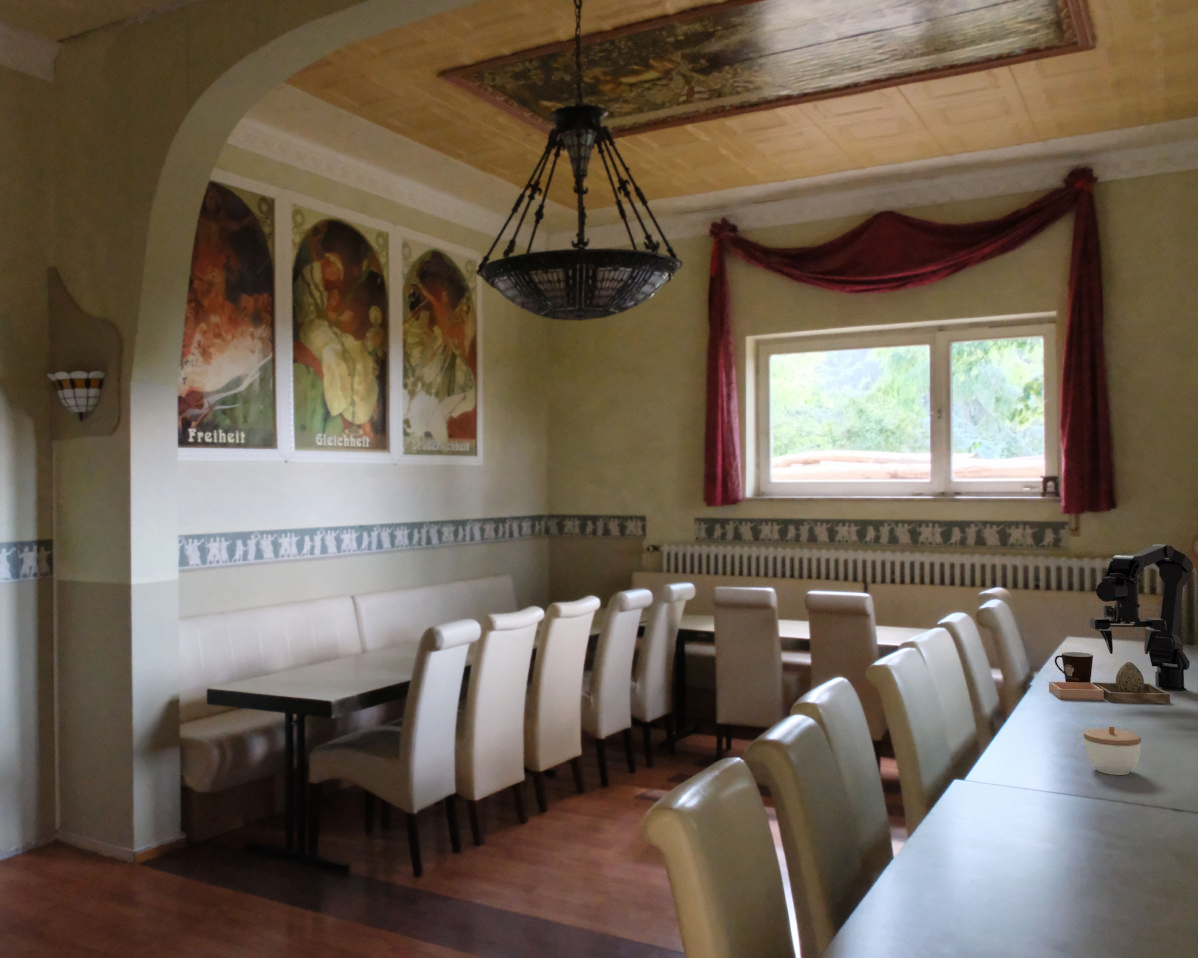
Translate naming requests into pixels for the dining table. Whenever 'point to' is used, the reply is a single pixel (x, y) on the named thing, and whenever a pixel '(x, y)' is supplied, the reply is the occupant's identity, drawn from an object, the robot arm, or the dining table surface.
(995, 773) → the dining table surface
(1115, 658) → the dining table surface
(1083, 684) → the terracotta dish
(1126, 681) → the decorative egg
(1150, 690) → the tray
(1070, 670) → the coffee mug
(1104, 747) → the lidded jar
